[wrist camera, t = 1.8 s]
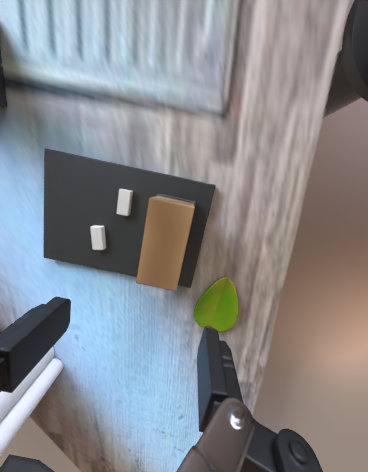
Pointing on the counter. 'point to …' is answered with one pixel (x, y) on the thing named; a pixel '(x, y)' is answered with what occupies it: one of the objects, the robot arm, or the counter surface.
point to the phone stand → (2, 86)
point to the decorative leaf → (218, 306)
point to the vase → (26, 397)
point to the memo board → (111, 212)
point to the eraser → (165, 241)
